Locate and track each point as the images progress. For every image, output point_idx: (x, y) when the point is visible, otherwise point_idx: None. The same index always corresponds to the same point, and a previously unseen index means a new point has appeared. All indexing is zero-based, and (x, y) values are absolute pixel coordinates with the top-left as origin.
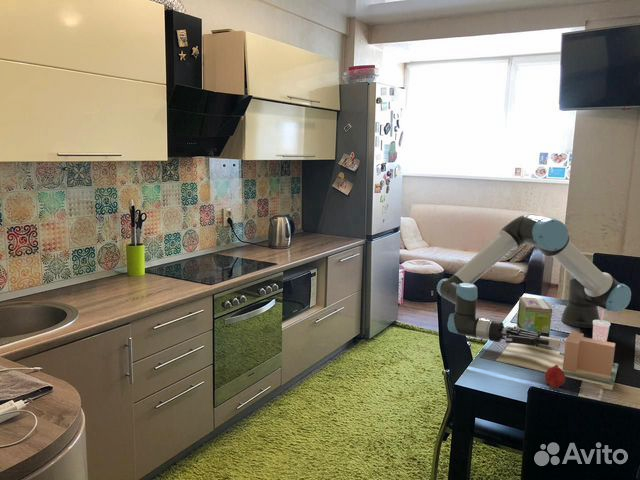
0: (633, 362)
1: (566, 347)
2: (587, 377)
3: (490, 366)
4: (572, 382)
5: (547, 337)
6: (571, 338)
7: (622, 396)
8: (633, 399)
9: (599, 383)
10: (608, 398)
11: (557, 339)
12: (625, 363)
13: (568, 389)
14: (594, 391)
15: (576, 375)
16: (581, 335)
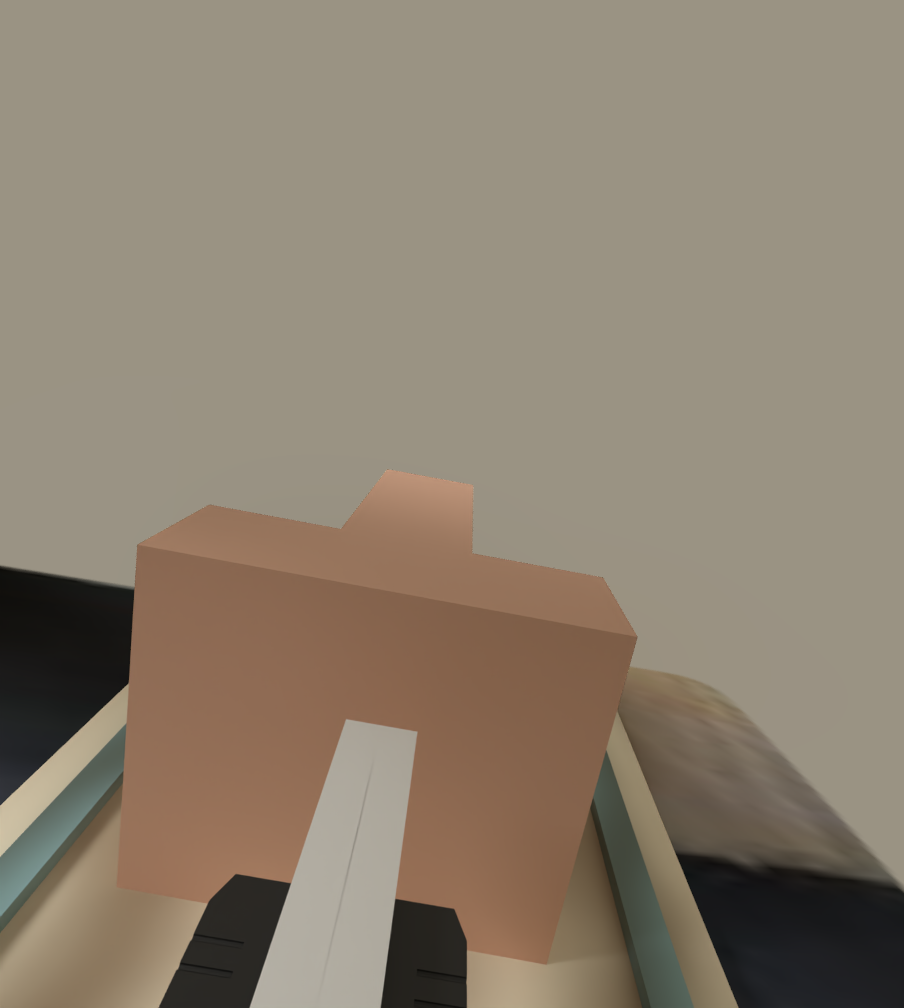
0: (97, 583)
1: (610, 702)
2: (606, 777)
3: None
4: (709, 907)
5: (314, 894)
6: (467, 586)
7: (645, 694)
8: (637, 669)
9: (619, 739)
10: (740, 744)
11: (355, 749)
12: (121, 607)
13: (892, 946)
14: (719, 789)
15: (636, 841)
16: (289, 523)
